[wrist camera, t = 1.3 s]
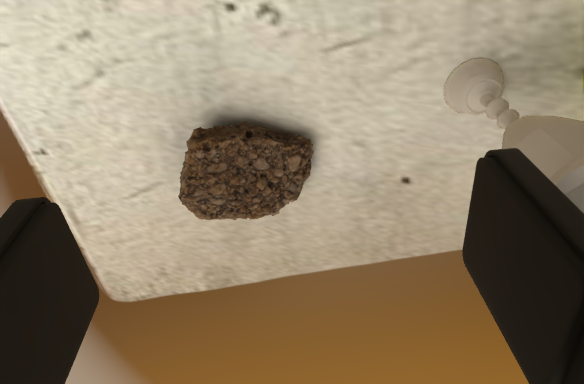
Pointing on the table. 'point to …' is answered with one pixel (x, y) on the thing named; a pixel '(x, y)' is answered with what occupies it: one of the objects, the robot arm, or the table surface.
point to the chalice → (522, 126)
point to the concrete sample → (243, 171)
